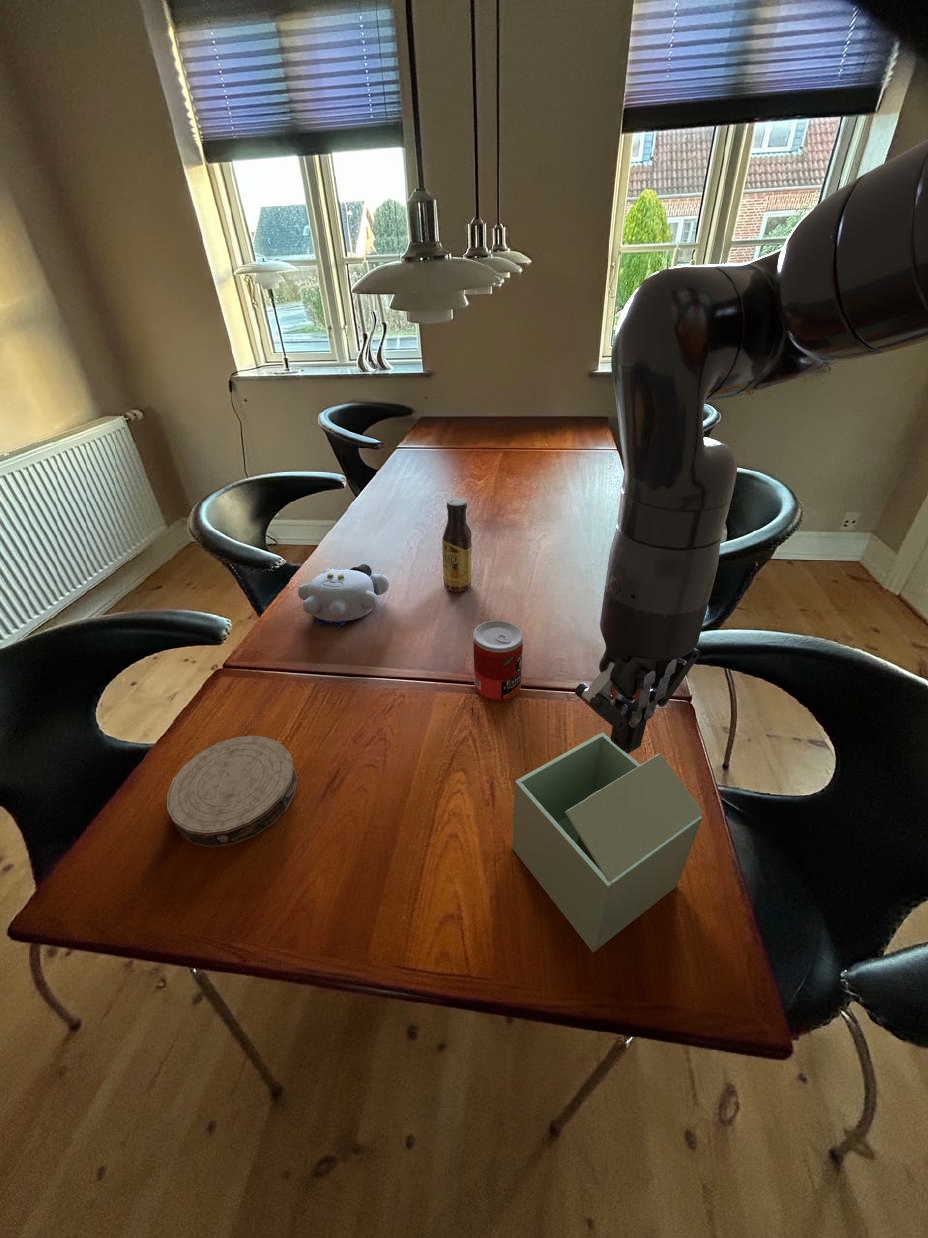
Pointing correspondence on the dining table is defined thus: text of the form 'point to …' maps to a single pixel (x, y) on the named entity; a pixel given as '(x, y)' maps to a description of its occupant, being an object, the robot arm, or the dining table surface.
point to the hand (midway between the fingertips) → (625, 744)
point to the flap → (633, 816)
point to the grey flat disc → (232, 791)
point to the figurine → (342, 594)
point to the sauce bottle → (457, 548)
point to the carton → (565, 867)
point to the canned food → (497, 660)
